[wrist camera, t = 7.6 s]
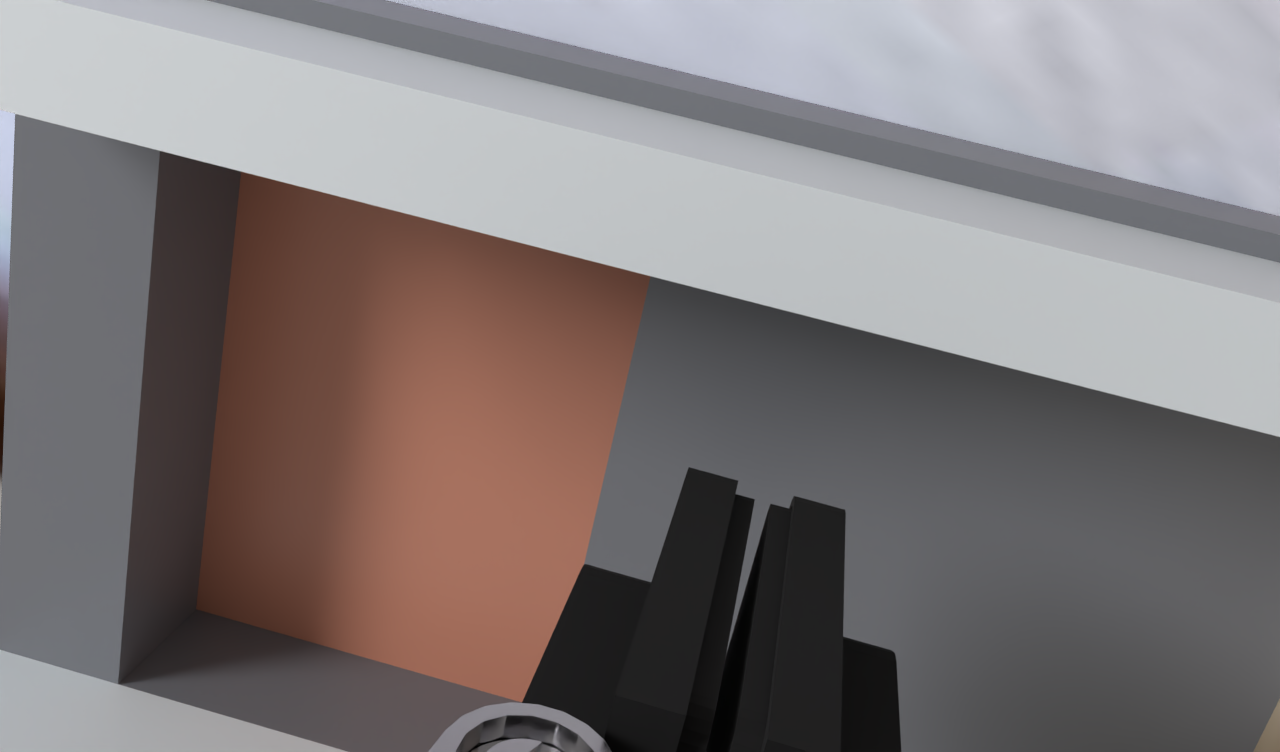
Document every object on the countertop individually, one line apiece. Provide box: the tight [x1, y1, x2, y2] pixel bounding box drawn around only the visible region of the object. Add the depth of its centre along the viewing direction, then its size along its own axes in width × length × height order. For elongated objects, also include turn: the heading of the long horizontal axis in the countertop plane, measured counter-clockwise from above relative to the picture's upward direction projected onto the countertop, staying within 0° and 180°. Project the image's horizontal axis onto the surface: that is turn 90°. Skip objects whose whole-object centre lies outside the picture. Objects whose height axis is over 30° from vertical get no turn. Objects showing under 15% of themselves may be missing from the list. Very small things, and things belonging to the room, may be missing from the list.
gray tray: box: [0, 0, 1280, 752], centre depth 15 cm, size 22×12×6 cm, turn 77°
